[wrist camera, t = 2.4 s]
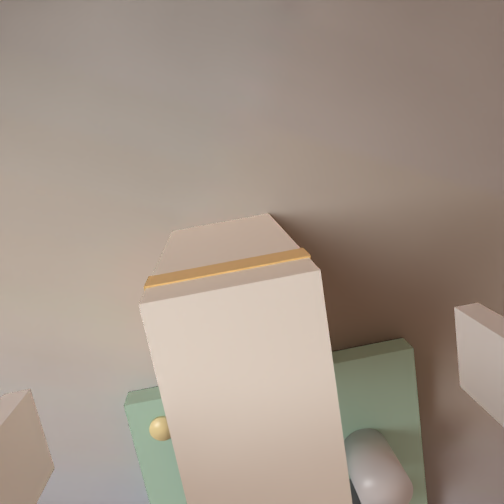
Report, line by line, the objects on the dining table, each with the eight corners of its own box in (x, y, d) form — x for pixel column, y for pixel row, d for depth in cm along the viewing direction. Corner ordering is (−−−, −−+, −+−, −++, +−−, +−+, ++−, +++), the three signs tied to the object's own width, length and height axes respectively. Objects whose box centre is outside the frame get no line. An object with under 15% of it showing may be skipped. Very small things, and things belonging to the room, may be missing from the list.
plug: (170, 229, 20) (135, 303, 11) (269, 212, 21) (322, 267, 11) (200, 369, 22) (194, 540, 12) (291, 350, 22) (354, 505, 13)
